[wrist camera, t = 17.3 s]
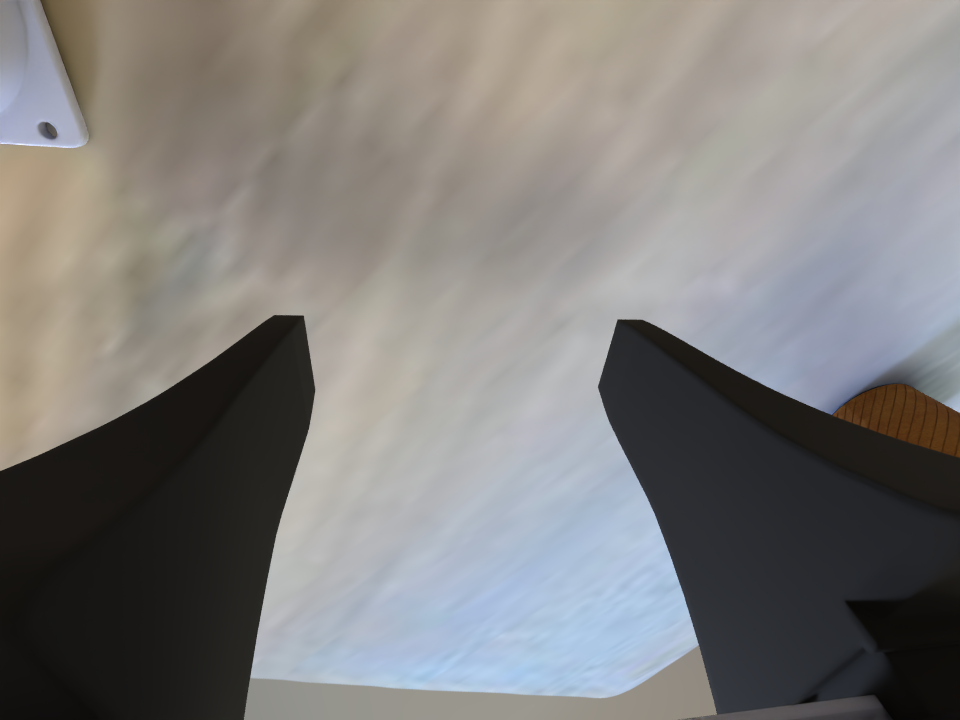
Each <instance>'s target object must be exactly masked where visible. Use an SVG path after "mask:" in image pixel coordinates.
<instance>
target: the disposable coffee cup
mask: <svg viewBox="0 0 960 720" xmlns="http://www.w3.org/2000/svg"><path fill="white" fill-rule="evenodd" d="M833 416H835V417H838V418H840V419H843V420H846V421H848V422H851V423H854V424H857V425H859V426H862V427H865V428H868V429H870V430H873V431H876V432H879V433H881V434H884V435H887V436H891V437H894V438H897V439H900V440H903V441H906V442H909V443H912V444H915V445H919V446H922V447H925V448H929V449H932V450H935V451H939V452H942V453H945V454H949V455H952V456H955V457H959V458H960V413H959V412H957V411H955V410H953V409H951V408H949V407H948V406H946V405H944V404H942V403H940V402H938V401H936V400H934V399H932V398H931V397H929V396H927V395H925V394H923V393H921V392H919V391H918V390H916V389H914V388H913V387H911V386H908V385H904V384H890V385H885V386H881V387H877V388H874V389H871V390H869V391H867V392H864V393H862V394H860V395H859V396H857V397H855V398H853V399H852V400H850V401H849V402H847V403H846V404H845V405H843V406H842V407H841V408H839V409H838V410H837V411H836V412H835V413H834V414H833Z"/></svg>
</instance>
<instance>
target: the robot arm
mask: <svg viewBox="0 0 960 720" xmlns="http://www.w3.org/2000/svg"><path fill="white" fill-rule="evenodd" d="M46 122H48V123H50V124H51V125H53V126H54V127H55V129H56V130H57V135H58V136H57V137H56V136H53V135H52V134H51V133H49V131H48V130H47V128H46ZM88 139H89V134H88V130H87V127H86V124H85V121H84V119H83V116H82V113H81V111H80V108H79V105H78V102H77V100H76V97H75V94H74V91H73V89H72V86H71V83H70V80H69V78H68V75H67V72H66V70H65V67H64V64H63V61H62V59H61V56H60V53H59V50H58V48H57V45H56V42H55V39H54V37H53V34H52V31H51V29H50V26H49V23H48V20H47V18H46V15H45V12H44V9H43V7H42V4H41V1H40V0H0V144H16V145H32V146H49V147H66V148H75V147H80V146H83V145H84V144H86V143H87V142H88ZM598 388H599V392H600V395H601V398H602V402H603V405H604V408H605V411H606V414H607V417H608V419H609V422H610V424H611V426H612V428H613V430H614V432H615V434H616V436H617V439H618V441H619V443H620V445H621V447H622V449H623V451H624V453H625V455H626V457H627V458H628V460H629V462H630V464H631V466H632V468H633V470H634V472H635V474H636V476H637V478H638V480H639V482H640V484H641V486H642V488H643V490H644V492H645V494H646V496H647V498H648V500H649V502H650V505H651V507H652V509H653V511H654V513H655V516H656V518H657V521H658V524H659V526H660V529H661V532H662V534H663V537H664V540H665V542H666V545H667V548H668V550H669V553H670V556H671V559H672V562H673V565H674V568H675V570H676V573H677V576H678V579H679V582H680V585H681V588H682V591H683V594H684V597H685V600H686V604H687V607H688V610H689V613H690V617H691V620H692V623H693V627H694V630H695V633H696V637H697V640H698V643H699V646H700V650H701V654H702V658H703V661H704V665H705V668H706V673H707V676H708V680H709V684H710V688H711V692H712V695H713V699H714V703H715V707H716V711H717V715H711V716H703V717H695V718H687V719H679V720H960V458H959V457H955V456H952V455H949V454H945V453H942V452H939V451H935V450H932V449H929V448H925V447H922V446H919V445H915V444H912V443H909V442H906V441H903V440H900V439H897V438H894V437H891V436H887V435H884V434H881V433H879V432H876V431H873V430H870V429H868V428H865V427H862V426H859V425H857V424H854V423H851V422H848V421H846V420H843V419H840V418H838V417H835V416H833V415H830V414H828V413H825V412H822V411H820V410H818V409H815V408H813V407H811V406H808V405H806V404H804V403H802V402H799V401H797V400H795V399H792V398H790V397H788V396H786V395H783V394H781V393H779V392H777V391H775V390H773V389H771V388H769V387H766V386H764V385H763V384H761V383H759V382H757V381H755V380H753V379H751V378H749V377H747V376H745V375H743V374H741V373H739V372H737V371H735V370H734V369H732V368H730V367H728V366H726V365H724V364H723V363H721V362H719V361H717V360H715V359H714V358H712V357H710V356H708V355H707V354H705V353H703V352H701V351H700V350H698V349H696V348H694V347H693V346H691V345H689V344H687V343H686V342H684V341H682V340H680V339H679V338H677V337H675V336H673V335H672V334H670V333H668V332H666V331H664V330H662V329H661V328H659V327H657V326H655V325H653V324H651V323H648V322H646V321H644V320H618V321H617V324H616V327H615V331H614V334H613V338H612V341H611V344H610V348H609V351H608V355H607V358H606V362H605V365H604V368H603V372H602V375H601V379H600V382H599V385H598ZM314 395H315V385H314V379H313V372H312V366H311V359H310V353H309V346H308V340H307V334H306V327H305V321H304V316H293V315H274V316H272V317H271V318H269V319H268V320H266V321H265V322H263V323H262V324H261V325H259V326H258V327H256V328H255V329H254V330H252V331H251V332H250V333H248V334H247V335H246V336H244V337H243V338H242V339H240V340H239V341H238V342H236V343H235V344H234V345H232V346H231V347H230V348H228V349H227V350H225V351H224V352H223V353H221V354H220V355H219V356H217V357H216V358H215V359H213V360H212V361H210V362H209V363H207V364H206V365H204V366H203V367H201V368H200V369H198V370H197V371H195V372H194V373H192V374H191V375H189V376H188V377H186V378H185V379H183V380H182V381H180V382H179V383H177V384H175V385H174V386H172V387H171V388H169V389H168V390H166V391H164V392H163V393H161V394H160V395H158V396H156V397H154V398H153V399H151V400H149V401H148V402H146V403H144V404H142V405H140V406H139V407H137V408H135V409H133V410H131V411H129V412H128V413H126V414H124V415H122V416H120V417H118V418H116V419H115V420H113V421H111V422H109V423H107V424H105V425H103V426H101V427H99V428H96V429H94V430H92V431H90V432H88V433H86V434H84V435H81V436H79V437H77V438H75V439H73V440H71V441H68V442H66V443H64V444H62V445H60V446H58V447H56V448H53V449H51V450H49V451H47V452H45V453H43V454H41V455H38V456H36V457H34V458H31V459H29V460H26V461H24V462H22V463H19V464H17V465H14V466H12V467H9V468H7V469H5V470H2V471H0V720H244V714H245V707H246V700H247V693H248V687H249V681H250V675H251V669H252V663H253V657H254V651H255V644H256V638H257V632H258V627H259V621H260V616H261V610H262V605H263V599H264V594H265V589H266V583H267V578H268V573H269V568H270V563H271V558H272V553H273V548H274V543H275V538H276V534H277V530H278V527H279V523H280V519H281V515H282V512H283V509H284V506H285V503H286V500H287V497H288V493H289V490H290V487H291V484H292V481H293V478H294V475H295V471H296V468H297V465H298V462H299V459H300V456H301V452H302V449H303V446H304V443H305V440H306V436H307V433H308V430H309V425H310V420H311V414H312V408H313V401H314Z"/></svg>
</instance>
